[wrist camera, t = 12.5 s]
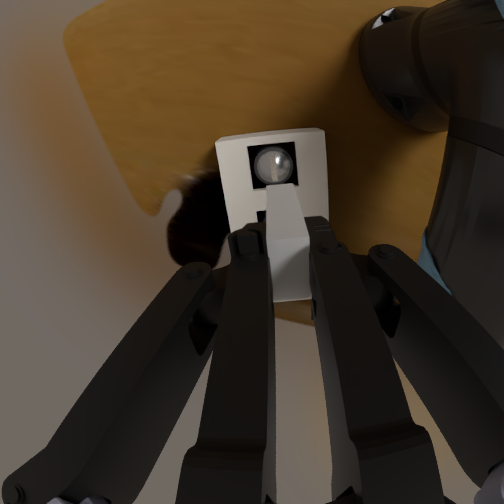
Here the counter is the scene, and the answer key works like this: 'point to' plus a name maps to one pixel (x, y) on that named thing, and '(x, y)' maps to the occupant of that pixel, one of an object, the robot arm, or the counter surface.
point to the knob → (273, 164)
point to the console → (251, 200)
